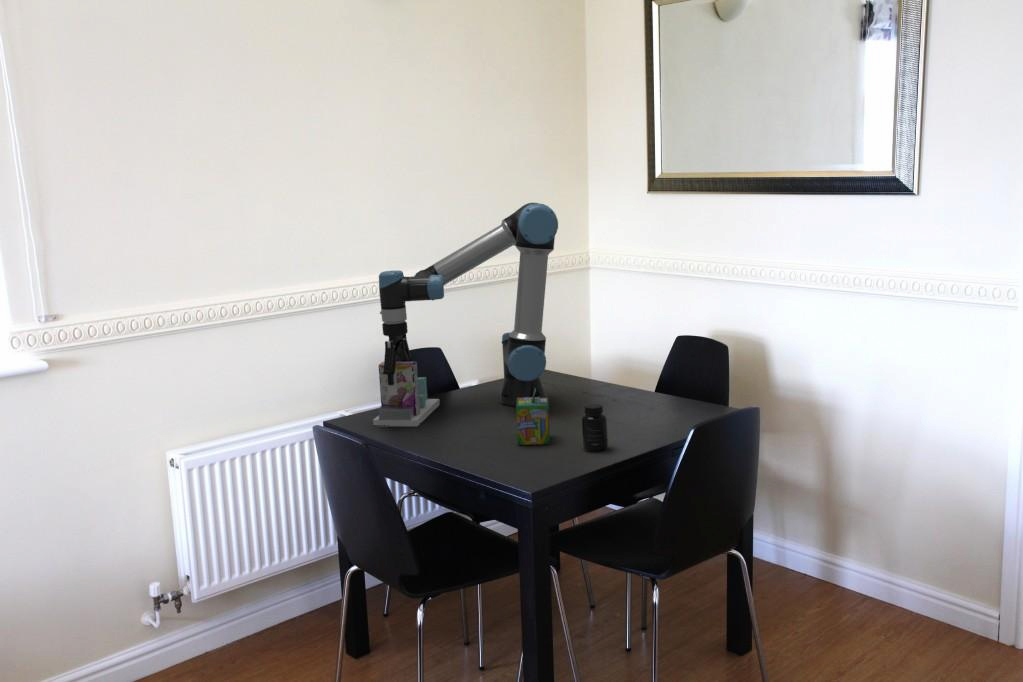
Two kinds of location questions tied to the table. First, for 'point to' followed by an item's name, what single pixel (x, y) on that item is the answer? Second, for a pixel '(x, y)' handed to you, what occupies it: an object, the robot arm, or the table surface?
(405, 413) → the base
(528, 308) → the robot arm
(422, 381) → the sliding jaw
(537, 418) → the chalk box
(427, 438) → the table surface
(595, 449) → the supplement bottle
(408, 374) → the candy bar box
